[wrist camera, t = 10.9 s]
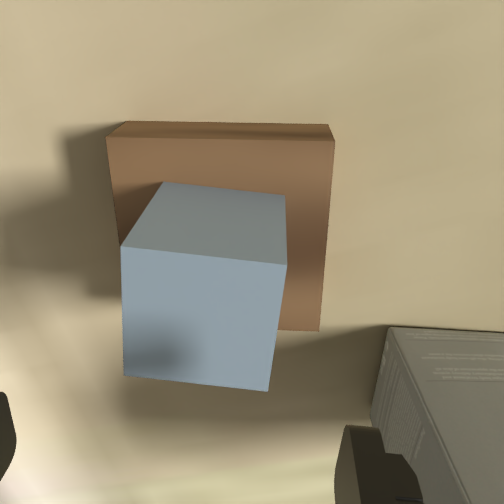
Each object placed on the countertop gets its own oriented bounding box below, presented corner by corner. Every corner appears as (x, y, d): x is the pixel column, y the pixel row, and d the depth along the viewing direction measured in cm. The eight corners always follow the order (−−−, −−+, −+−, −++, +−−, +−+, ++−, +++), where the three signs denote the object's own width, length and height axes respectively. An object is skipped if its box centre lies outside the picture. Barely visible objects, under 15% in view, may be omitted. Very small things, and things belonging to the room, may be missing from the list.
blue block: (163, 181, 20) (120, 246, 14) (285, 195, 20) (287, 265, 14) (161, 286, 22) (123, 375, 17) (270, 298, 22) (267, 391, 17)
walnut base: (129, 118, 22) (105, 137, 19) (326, 122, 22) (335, 141, 19) (147, 286, 26) (130, 324, 23) (314, 292, 26) (319, 331, 23)
